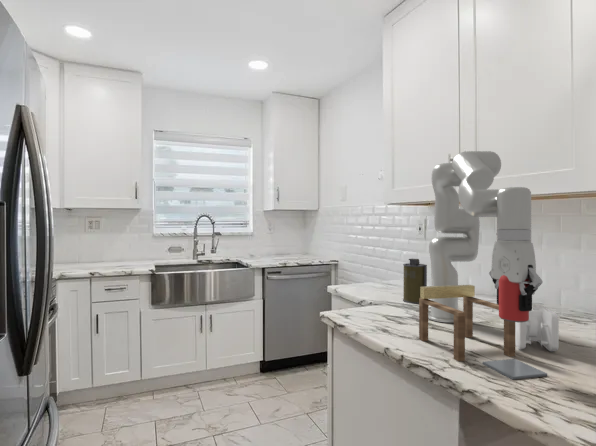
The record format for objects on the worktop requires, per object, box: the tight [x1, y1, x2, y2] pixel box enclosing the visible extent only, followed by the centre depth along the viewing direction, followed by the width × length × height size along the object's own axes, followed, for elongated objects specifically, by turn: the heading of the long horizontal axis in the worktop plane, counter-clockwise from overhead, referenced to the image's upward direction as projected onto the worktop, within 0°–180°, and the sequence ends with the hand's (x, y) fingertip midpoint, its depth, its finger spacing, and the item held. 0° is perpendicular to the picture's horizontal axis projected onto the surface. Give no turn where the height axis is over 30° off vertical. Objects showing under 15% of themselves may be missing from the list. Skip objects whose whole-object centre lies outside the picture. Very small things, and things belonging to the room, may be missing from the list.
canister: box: [402, 258, 428, 304], centre depth 176 cm, size 11×10×20 cm
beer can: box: [498, 272, 529, 322], centre depth 94 cm, size 7×7×12 cm
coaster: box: [481, 358, 548, 381], centre depth 94 cm, size 10×10×1 cm
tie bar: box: [420, 284, 476, 300], centre depth 119 cm, size 2×18×4 cm, turn 103°
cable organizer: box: [515, 304, 560, 353], centre depth 113 cm, size 15×11×12 cm
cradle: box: [418, 297, 516, 362], centre depth 111 cm, size 20×18×13 cm
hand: (513, 306), depth 94 cm, fingers closed on beer can, 6 cm apart
